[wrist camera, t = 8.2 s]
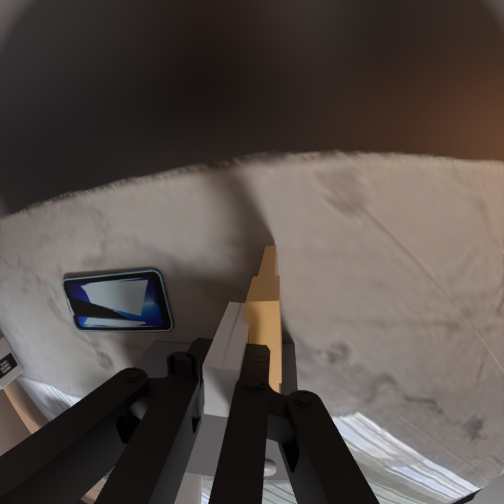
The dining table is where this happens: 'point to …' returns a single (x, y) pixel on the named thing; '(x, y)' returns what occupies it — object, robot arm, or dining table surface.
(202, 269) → the dining table surface
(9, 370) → the container
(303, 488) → the robot arm
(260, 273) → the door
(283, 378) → the case
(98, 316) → the smartphone
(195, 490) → the cup
